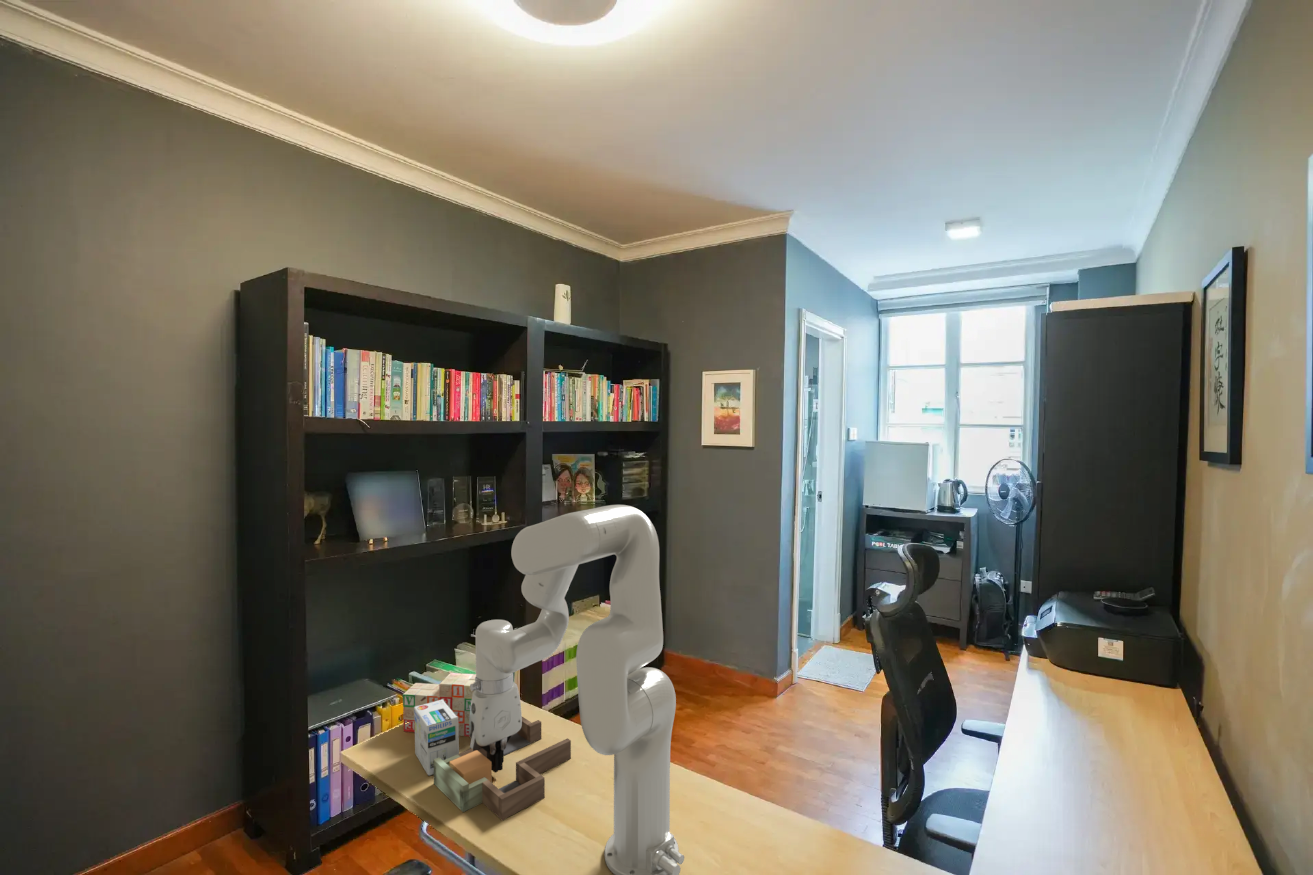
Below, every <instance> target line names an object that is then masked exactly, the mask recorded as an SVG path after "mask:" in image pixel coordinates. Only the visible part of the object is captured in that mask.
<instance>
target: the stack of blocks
mask: <svg viewBox="0 0 1313 875" xmlns="http://www.w3.org/2000/svg"><path fill="white" fill-rule="evenodd" d="M475 677H476V673H459V672H458V673H457V672H450V673H449V674H448V675H447V676H446V677H445V678H444V679H443V680H442V681H441V682H440V683H439V684H438V683H423V682H415V683H414V684H413V685H411V686H410V687H409V688H408V689H407V690H406V691H405V692H404V693H402V706H403V707H402V708H403V710H402V714H403V716H402V717H403V727H402V728H403V732H409V733H411V732H412V733H415V718H414V707H416V706H419V705H424V704H427V703H431V702H435V701H439V700H442V699H443V700H444V701H445V703H446V704H447V705H448V706H449V708H450V709H451V710H452V711H453V712H454V713H455V714H456V715H457V716H458V735H459V737H469V738H470V736H469V716H470V707H471V700H472V696H473V692H474V691H475V690H474V691H471V689H470V685H471V684H473V683H474V682H475ZM407 722H409V723H407ZM405 723H407V724H405Z"/></svg>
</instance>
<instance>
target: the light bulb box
mask: <svg viewBox="0 0 1313 875" xmlns="http://www.w3.org/2000/svg"><path fill="white" fill-rule="evenodd" d="M414 718H415V732H414V755H416V757H417V759H418V761H419V763H420V764H421V766H422V768H423V769H424V771H425V773H426V775H427V776H432V775H434V759H436V758H441V759H442V760H445V759H448V758H450V757H452V756H455V755H457V754H459V753H460V750H459V749H460V747H459V746H460V744H459V742H460V741H459V738H460V736H459V735H458V716H457V715H456V714H455V713H454V712H453V711H452V710H451V709H450V708H449V706H448V705H447V704H446V703H445V701H444V700H443V699H442V700H439V701H435V702H431V703H427V704H424V705H419V706H416V707H414Z"/></svg>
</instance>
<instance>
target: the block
mask: <svg viewBox="0 0 1313 875" xmlns="http://www.w3.org/2000/svg"><path fill="white" fill-rule="evenodd" d="M449 766H450V767H451V768H452V769H453V770H454V771H455V772H456V773H457V774H459V775H460V776H461V777H462V778H463V779H464V780H465V781H466V782H467V783H469V784H471V783H473V782H475V781H478V780H480V779H482V778H484V777H485V778H486V779H488V780H489V781H490V782H491V783H492V781H493V780H492V779H493V778H492V777H493V776H492V772H493V771H492V765H491V761H490V760H489V759H487V758H486V757H485V756H484V755H482V754H481V753H480V752H479V751H477V750H476V751H473V752H471V753H468V754H466V755H464V756H461V757H459V758H457V759H454V760H452V761H450V762H449ZM492 784H493V783H492Z"/></svg>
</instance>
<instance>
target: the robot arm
mask: <svg viewBox="0 0 1313 875" xmlns="http://www.w3.org/2000/svg"><path fill="white" fill-rule="evenodd" d="M512 542H513V543H512V545H511V550H510V551H511V554H510V555H511V559H512V563H513V565H514V567H515V569H516V570H517V571H519V572H520V573H521V574H523V575H524V578H523V581H522V583H521V586H520V587H521V594H522V595H523V598H525V600H526V601H527V602H528V603H529V604H531V605H532V606H534V607H536V608H538V609H541V611H540V614H539V615H538V618H537V620H535V622H532V623H528V624H526V625H524V626H522V627H519V628H516V629H514V628H513V625H512V623H511V622H509V621H508V620H505V619H491V620H490V619H489V620H487V621H483V622H481V623H480V624H479V625H477V627H476V630H475V674H476V677H475V682H474V683H473V684H471V685H470V689H471V691H474V690H475V691H474V692H473V696H472V700H471V707H470V716H469V736H470V737H469V736H468V737H469V738H470V745H469V749H472V750H473V751H476V750H481V749H484V750H485V751H487V759H489V760H490V761H491V765H492V772H494V773H495V774H496V773H498V772H500V771H502V770H503V767H504V765H503V764H504V761H505V760H504V757H505V756H504V750H505V748H506V744H507V742H508V741H509V739H510V737H511V736H513V735H514V734H516V733H517V732H518V731H519V730H520V729H521V726H522V717H523V715H522V713H523V712H522V705H521V697H520V691H519V688H518V684H517V683H516V682H514V673H515V672H518V671H520V670H522V669H524V668H528V667H529V666H531V665H533V664H536V663H538V662H540V661H543V660H545V659H547V658H549V657H550V656H551V655H553V654H554V653H555V652H556V651H557V650H558V648H559V646H560V644H561V642H562V641H563V638H564V636H565V635H566V634H565V633H566V631H567V629H568V626H569V621H570V620H569V618H570V617H569V616H570V615H569V614H570V612H569V608H568V604H567V601H566V599H565V597H566V595H567V592H568V591H569V587H570V585H571V583H572V581H573V579H574V577H575V574H576V572H577V570H578V567H579V565H582V564H585V563H589V562H592V561H596V560H599V559H602V558H606V557H610V556H612V555H615V556H616V560H615V563H614V566H613V568H612V571H611V575H610V579H609V580H610V581H609V596H610V610H609V614H608V616H606V617H604V618H601V619H600V620H597V621H595V622H593V623H591V624H590V625H589V626H587V627H586V629H585V630H584V631H583V632H582V634H581V635H580V636H579V640H578V643H577V645H576V646H577V648H576V653H575V654H576V655H575V656H576V657H575V658H576V659H575V661H576V677H577V680H576V681H577V692H578V706H579V707H578V709H579V719H580V725H581V729H582V732H583V735H584V738H585V740H586V742H587V743H588V745H589V746H590V748H592V749H593V750H594V751H595V752H596V753H597V754H600V755H602V756H612V755H613V834H612V835H611V836H610V837H609V838H608V839H607V841H606V843H605V847H604V860H605V864H606V866H607V868H608V869H609V871H611V873H613V875H680V873H681V866H680V865H682V864H683V863H684V861H685V855H684V854H682V853H681V852H679V851H680V849H679V845H678V841H677V840H676V838H675V835H674V834H673V833H671V832H670V830H671V829H670V828H671V827H670V825H671V824H670V822H671V821H670V819H671V818H670V817H671V816H670V815H671V814H670V811H671V810H670V809H671V808H670V807H671V806H670V805H671V804H670V803H671V800H670V799H671V795H670V794H671V793H670V792H671V791H670V790H671V775H670V774H671V741H672V732H673V726H674V720H675V714H676V708H677V703H676V702H677V701H676V700H677V698H676V696H677V695H676V692H675V688H674V684H673V682H672V680H671V679H670V677H669V676H668V675H667V674H666V673H665V672H663V671H662V670H660V669H658V668H656V667H649V666H648V667H644V666H646V665H648V664H649V663H651V662H653V661H654V660H655V659H656V658H658V657H659V655H660V654H661V653H662V650H663V647H664V646H663V645H664V631H663V630H664V629H663V613H662V600H661V599H662V596H661V590H660V589H661V588H660V587H661V586H660V542H659V536H658V534H657V531H656V528H655V526H654V524H653V523H652V521H651V519H650V518H649V517H648V516H647V515H646V513H644V511H642V510H640V509H638V508H636V507H634V506H631V505H626V504H610V505H603V506H597V507H594V508H589V509H584V510H578V511H573V512H568V513H564V514H562V515H559V516H556V517H553V518H550V519H547V520H544V521H541V522H539V523H536V524H532V525H529V526H526V527H524V528H523V529H521V530H520V531H519V532H518V533H517V534H516V536H515V538H514V539H513V541H512Z"/></svg>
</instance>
